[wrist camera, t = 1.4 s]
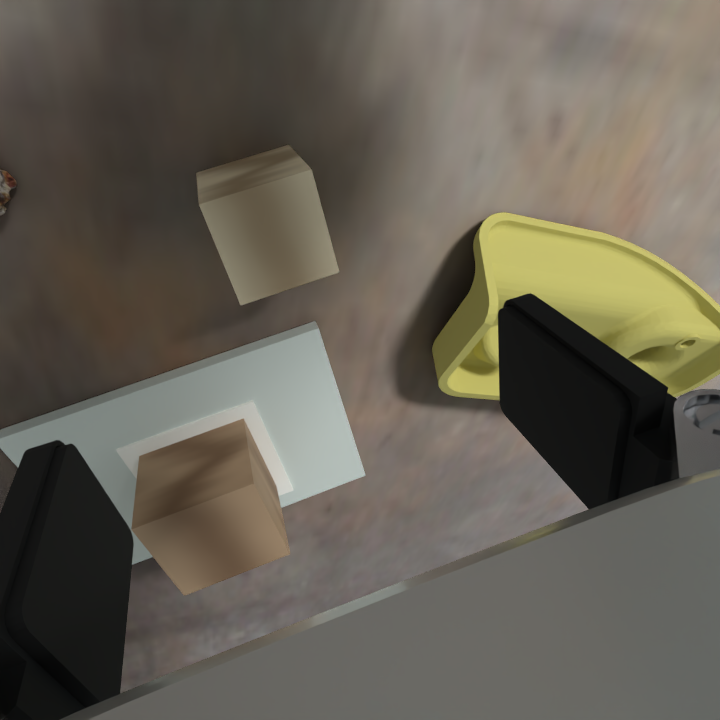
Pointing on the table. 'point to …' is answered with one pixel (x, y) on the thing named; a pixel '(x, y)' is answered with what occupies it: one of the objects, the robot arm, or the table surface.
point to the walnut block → (208, 508)
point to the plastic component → (579, 304)
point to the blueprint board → (213, 419)
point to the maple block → (267, 223)
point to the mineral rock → (5, 189)
